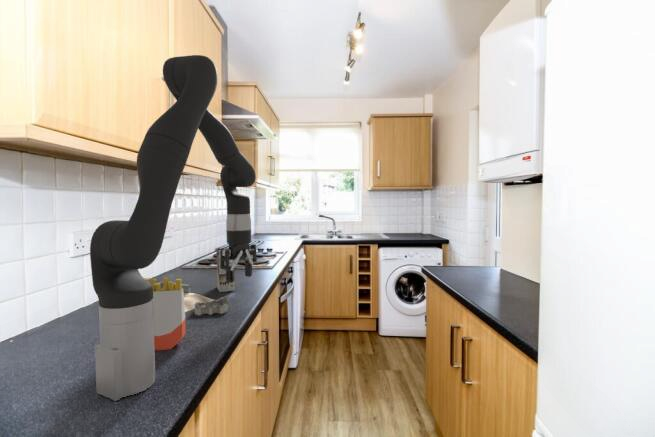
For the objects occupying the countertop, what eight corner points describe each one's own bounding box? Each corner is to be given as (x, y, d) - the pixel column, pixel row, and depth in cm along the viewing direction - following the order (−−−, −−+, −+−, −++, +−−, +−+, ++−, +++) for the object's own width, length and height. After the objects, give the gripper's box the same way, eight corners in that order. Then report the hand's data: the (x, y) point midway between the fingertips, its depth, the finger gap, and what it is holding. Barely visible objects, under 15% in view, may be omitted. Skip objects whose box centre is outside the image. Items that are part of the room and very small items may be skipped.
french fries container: (141, 344, 85) (139, 275, 84) (186, 340, 87) (184, 273, 86) (134, 352, 80) (133, 279, 79) (182, 348, 83) (181, 277, 82)
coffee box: (235, 290, 135) (234, 252, 135) (219, 292, 133) (218, 253, 132) (231, 285, 144) (231, 249, 143) (216, 286, 141) (215, 249, 140)
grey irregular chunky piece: (229, 307, 115) (229, 296, 115) (226, 315, 108) (226, 302, 107) (197, 309, 113) (197, 297, 113) (192, 316, 106) (192, 304, 106)
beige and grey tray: (171, 321, 103) (171, 305, 103) (115, 308, 116) (115, 293, 115) (218, 303, 122) (218, 289, 121) (165, 293, 134) (165, 281, 134)
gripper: (232, 231, 95) (233, 286, 96) (262, 227, 108) (263, 275, 109) (213, 229, 98) (214, 283, 99) (244, 226, 111) (245, 273, 112)
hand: (239, 279), depth 104 cm, fingers open, 8 cm apart
